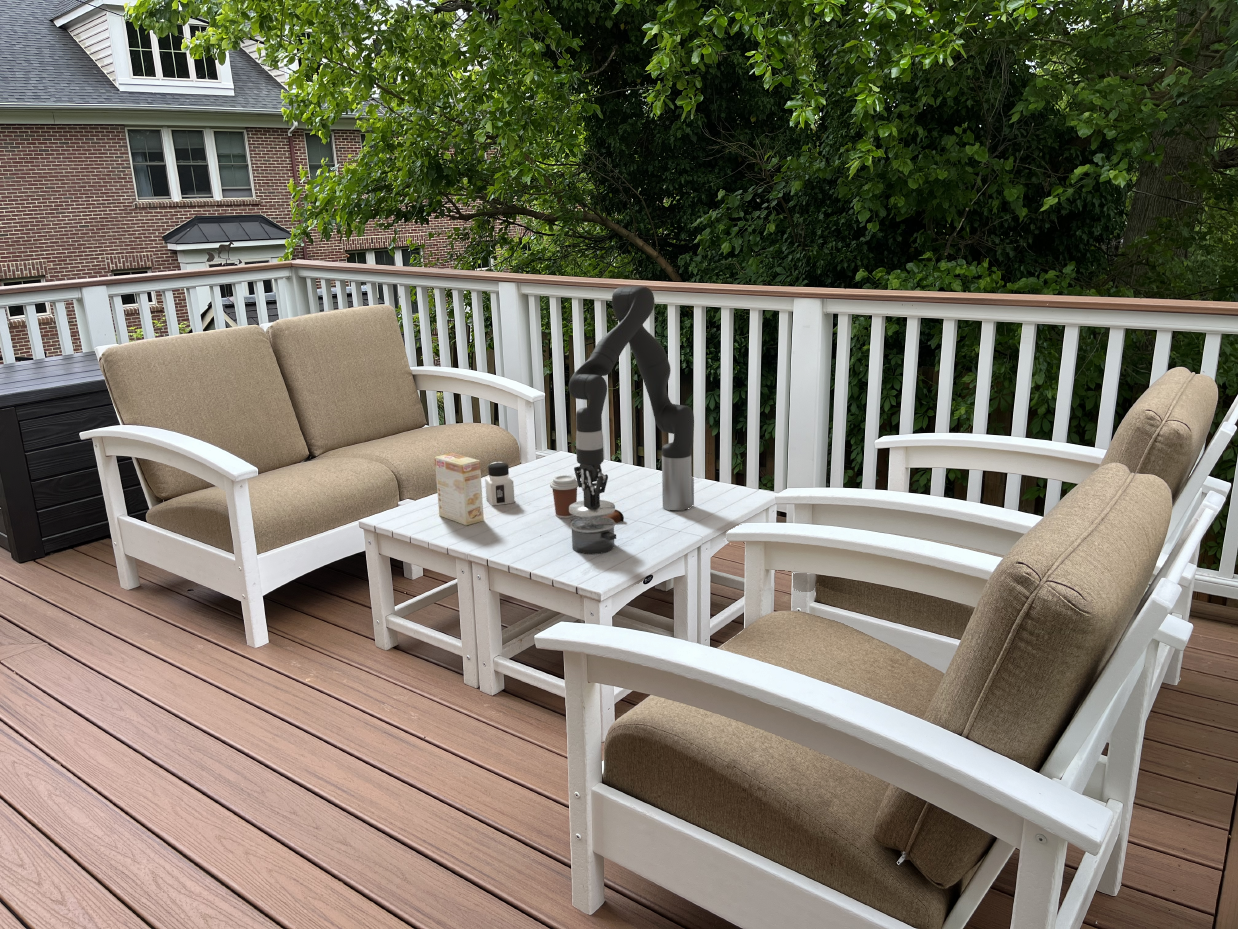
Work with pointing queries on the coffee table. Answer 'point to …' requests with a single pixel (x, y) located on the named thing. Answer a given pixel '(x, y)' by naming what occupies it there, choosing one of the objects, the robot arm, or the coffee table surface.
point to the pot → (592, 535)
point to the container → (499, 484)
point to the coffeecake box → (459, 488)
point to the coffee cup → (564, 494)
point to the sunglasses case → (616, 516)
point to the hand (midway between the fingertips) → (591, 504)
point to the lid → (587, 510)
